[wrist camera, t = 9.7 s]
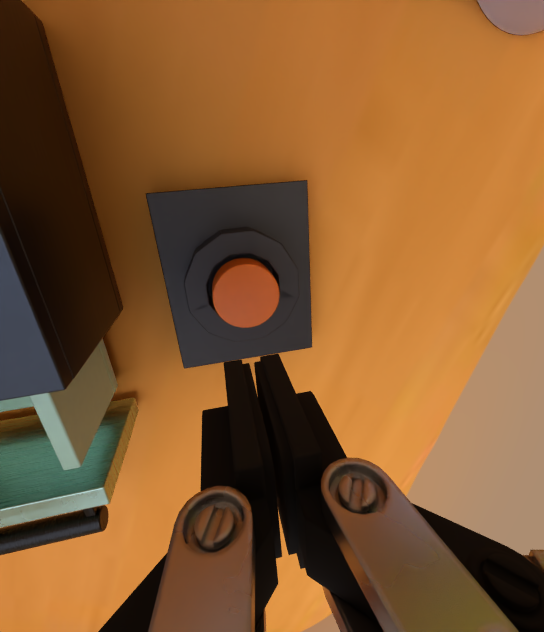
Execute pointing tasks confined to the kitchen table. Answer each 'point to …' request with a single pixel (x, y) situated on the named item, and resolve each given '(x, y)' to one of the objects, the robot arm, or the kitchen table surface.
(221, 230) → the control block
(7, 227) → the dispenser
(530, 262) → the kitchen table surface
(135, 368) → the kitchen table surface
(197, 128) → the kitchen table surface
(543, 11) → the wedge on round base
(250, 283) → the button
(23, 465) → the tray
